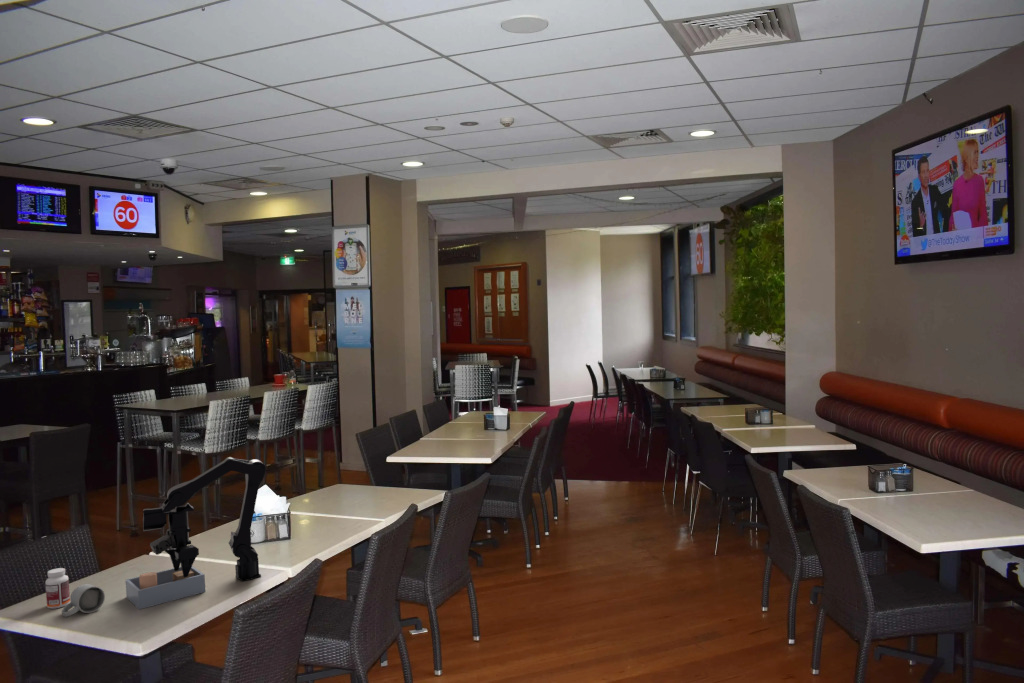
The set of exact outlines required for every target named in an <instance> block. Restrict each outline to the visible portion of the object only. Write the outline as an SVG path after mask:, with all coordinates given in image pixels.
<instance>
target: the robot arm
mask: <svg viewBox="0 0 1024 683" xmlns="http://www.w3.org/2000/svg"><path fill="white" fill-rule="evenodd" d="M230 472H235V473H236V472H237V473H239V474H240V473H241V474H244V476H245V490H244V493H243V494H244V495H243V499H242V503H241V504H242V505H241V510H240V516H239V519H238V525H237V528H236V530H235V532H234V531H231V532H230V540H229V541H228V545H229V547H230V550H231V551H232V554H233V555H234V557H236V558H237V559H236V564H235V566H234V567H235V578H236V579H238V580H240V581H242V582H245V581H249V580H252V579H257V578H260V577H262V574H261V573H260V568H259V567H260V565H259V554H258V551H256V549H255V547H253V546H252V536H251V533H252V532H251V529H252V523H253V518H254V513H255V507H256V502H257V497H258V492H259V488H260V486H261V485H262V483H263V480H264V478H265V475H266V472H267V466H266V465H265V464H264V463H263V462H262V461H261V460H260V459H257V458H255V459H254V458H253V459H250V460H248V459H239V458H234V457H232V456H229V457H226V458H225V459H224V460H223V461H221V462H219V463H217V464H216V465H214V466H212V467H211V468H209V469H208V470H206V471H204V472H203V473H201V474H199V475H197V476H196V477H194V478H192V479H190V480H188V481H184V482H182V483H178V484H176V485H174V486H172V487H170V488H169V489H168V491H167V494H166V498H165V500H164V501H163V503H162V504H161V506H159V507H155V508H144V509H143V510H142V511H143V517H142V524H143V526H142V528H143V532H147V531H153V530H161V529H164V527H165V526H166V525H167V524H168V529H166V534H165V535H163V536H161V537H159V538H157V539H155V540H154V541H151V542H150V543H149V546H150V548H151V550H152V552H153V553H154V554H155V555H157V556H158V555H160V554H162V553H163V552H165V553H167V555H169V558H170V560H171V564H172V567H173V568H174V570H175V571H177V570H179V567H181V568H182V572H183V576H184V577H187V576H188V574H189V572H190V569H191V567H192V566H194V562H195V560H196V558H197V557H198V556H199V555H200V551H199V548H198V547H197V546H196V545H193V544H192V541H191V540H190V535H189V534H190V532H191V528H190V527H189V512H193V511H194V510H195V509H194V508H195V507H194V506H193V505H191V504H190V503H189V502H188V501H189V500H191V498H193V497H194V496H195V494H197V492H199V491H200V490H202V489H204V488H205V487H207V486H208V485H210V484H212V483H213V482H215V481H217V480H218V479H220V478H222V477H223V476H224V475H227V474H229V473H230ZM167 515H168V516H167ZM167 518H168V523H167Z"/></svg>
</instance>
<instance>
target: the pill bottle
mask: <svg viewBox="0 0 1024 683" xmlns="http://www.w3.org/2000/svg"><path fill="white" fill-rule="evenodd" d="M47 577H48V578H47V579H46V580H45V583H44V584H45V595H46V596H45V597H46V606H47V608H48V609H51V610H54V609H60V608H64V607H65V606H67V605H68V604H69V603H71V594H70V593H71V592H70V582H69V581H70V580H69V579H70V578H69V576H68V575H66V568H63V567H59V568H58V567H57V568H53V569H50V570H48V571H47Z"/></svg>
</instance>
